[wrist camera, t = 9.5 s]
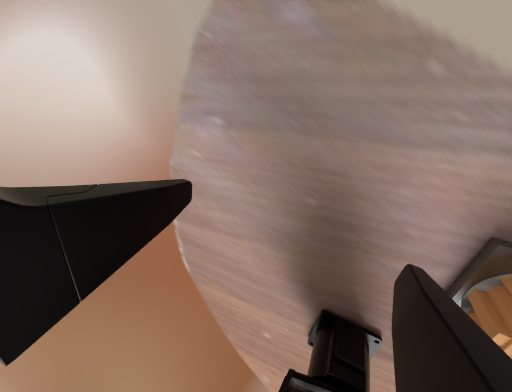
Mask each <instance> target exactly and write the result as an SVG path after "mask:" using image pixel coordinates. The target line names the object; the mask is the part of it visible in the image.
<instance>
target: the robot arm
mask: <svg viewBox="0 0 512 392" xmlns="http://www.w3.org/2000/svg"><path fill="white" fill-rule="evenodd" d="M191 199H192V183H191V182H190V181H188V180H185V179H175V180H160V181H143V182H127V183H111V184H99V185H97V184H94V185H78V186H54V187H53V186H52V187H51V186H50V187H16V188H15V187H0V362H1V363H2V364H3V365H4V366H7V365H9V364H10V363H11V362H13V361H14V360H15V359H16V358H18V357H19V356H20V355H21V354H22V353H23V352H24V351H26V350H27V349H28V348H29V347H30V346H31V345H32V344H34V343H35V342H36V341H37V340H38V339H39V338H40V337H42V336H43V335H44V334H45V333H46V332H47V331H48V330H50V329H51V328H52V327H53V326H54V325H55V324H56V323H58V322H59V321H60V320H61V319H62V318H63V317H64V316H66V315H67V314H68V313H69V312H70V311H71V310H72V309H74V308H75V307H76V306H77V305H78V304H79V303H80V301H82V300H84V299H85V298H86V297H87V296H88V295H89V294H90V293H92V292H93V291H94V290H95V289H96V288H97V287H98V286H99V285H101V284H102V283H103V282H104V281H105V280H106V279H107V278H109V277H110V276H111V275H112V274H113V273H114V272H115V271H117V270H118V269H119V268H120V267H121V266H122V265H124V264H125V263H126V262H127V261H128V260H129V259H130V258H132V257H133V256H134V255H135V254H136V253H137V252H139V251H140V250H141V249H142V248H143V247H144V246H145V245H147V244H148V243H149V242H150V241H151V240H152V239H153V238H154V237H156V236H157V235H158V234H159V233H160V232H161V231H163V230H164V229H165V228H166V227H167V226H168V225H169V224H170V223H171V222H172V221H173V220H174V219H175V218H176V217H177V216H178V215H179V214H180V213H181V212H182V210H183V209H184V208H185V207H186V206H187V205H188V204H189V203H190V201H191ZM392 340H393V355H394V369H395V383H396V392H512V359H511V358H510V357H509V356H508V355H507V354H506V353H505V352H504V351H503V350H502V349H501V348H500V347H499V346H498V345H497V344H496V343H495V342H494V341H493V340H492V339H491V338H490V337H489V336H488V335H487V334H486V333H485V332H484V331H483V330H482V328H481V327H480V326H479V325H478V324H477V323H476V322H475V321H474V320H473V319H472V318H471V317H470V316H469V315H468V314H467V313H466V312H465V311H464V310H463V309H462V308H461V307H460V306H459V305H458V304H457V303H456V302H455V301H454V300H453V299H452V298H451V297H450V296H449V295H448V294H447V293H446V292H445V291H444V290H443V289H442V288H441V287H440V286H439V285H438V284H437V283H436V282H435V281H434V280H433V279H432V278H431V277H430V276H429V275H428V274H427V273H426V272H425V271H424V270H423V269H422V268H420V267H417V266H414V265H412V264H407V265H406V266H405V267H404V269H403V270H402V272H401V273H400V275H399V276H398V278H397V279H396V281H395V284H394V295H393V312H392ZM308 344H309V345H310V346H312V347H313V350H312V355H311V360H310V365H309V369H308V374H307V375H304V374H302V373H299V372H296V371H295V370H293V369H289V371H288V373H287V376H285V378H284V380H283V383H282V385H281V387H280V390H279V392H370V364H369V361H370V359H371V358H372V357H373V355H374V354H375V353H376V351H377V350H378V349H379V347H380V346H381V345H382V338H381V337H380V336H378V335H376V334H374V333H372V332H370V331H368V330H366V329H364V328H361V327H359V326H357V325H355V324H353V323H351V322H349V321H347V320H345V319H343V318H341V317H339V316H336V315H334V314H332V313H330V312H328V311H326V310H322V311H321V313H320V315H319V317H318V319H317V321H316V323H315V325H314V328H313V330H312V332H311V334H310V336H309V338H308Z"/></svg>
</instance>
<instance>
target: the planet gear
mask: <svg viewBox="0 0 512 392" xmlns="http://www.w3.org/2000/svg"><path fill="white" fill-rule="evenodd" d="M500 280H501V282H502V284H503V286H495V287H491V288H490V289H489V290H488V291H487V292H486V293H484V292H481V291H479V290H476V289H474V290H473V291H472V292H471V293H470V294H469V295H468V296H467V297H468V299H469V301H470V303H471V305H472V307H473V309H474V311H475V313H467V314H468V315H469V316H470V317H471V318H472V319H473V320H474V321H475V322H476V323H477V324H478V325H479V326H480V327H481V328H482V330H483V331H484V332H485V333H486V334H487V335H488V336H489V337H490V338H491V339H492V340H493V341H494V342H495V343H496V344H497V345H498V346H499V347H500V348H501V349H502V350H503V351H504V352H505V353H506V354H507V355H508V356H509V357H510V358H511V359H512V276H509V277H502V278H500Z"/></svg>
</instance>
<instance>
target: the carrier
mask: <svg viewBox="0 0 512 392" xmlns="http://www.w3.org/2000/svg"><path fill="white" fill-rule="evenodd" d="M509 276H512V243H509V242H506V241H502V240H499V239H496V238H493V237H492V239H491V240H490V241H489V242H488V243H487V244H486V246H485V247H484V248H483V249H482V250H481V252H480V253H479V254H478V255H477V256H476V258H475V259H474V260H473V261H472V262H471V263H470V265H469V266H468V267H467V268H466V269H465V271H464V272H463V273H462V274H461V275H460V277H459V278H458V279H457V280H456V281H455V282H454V284H453V285H452V286H451V287H450V288H449V290H448V291H447V292H446V293H447V294H448V295H449V296H450V297H451V298H452V299H453V300H454V301H455V302H456V303H457V304H458V305H459V306H460V307H461V308H462V309H463V310H464V311H465V312H466V313H475V311H474V309H473V307H472V305H471V303H470V301H469V299H468V297H467V296H468V295H469V294H470V293H471V292H472V291H473V290H474V289H476V290H479V291H481V292H484V293H486V292H487V291H488V290H489V289H490V288H491V287H495V286H503V284H502V282H501V280H500V278H502V277H509Z"/></svg>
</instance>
